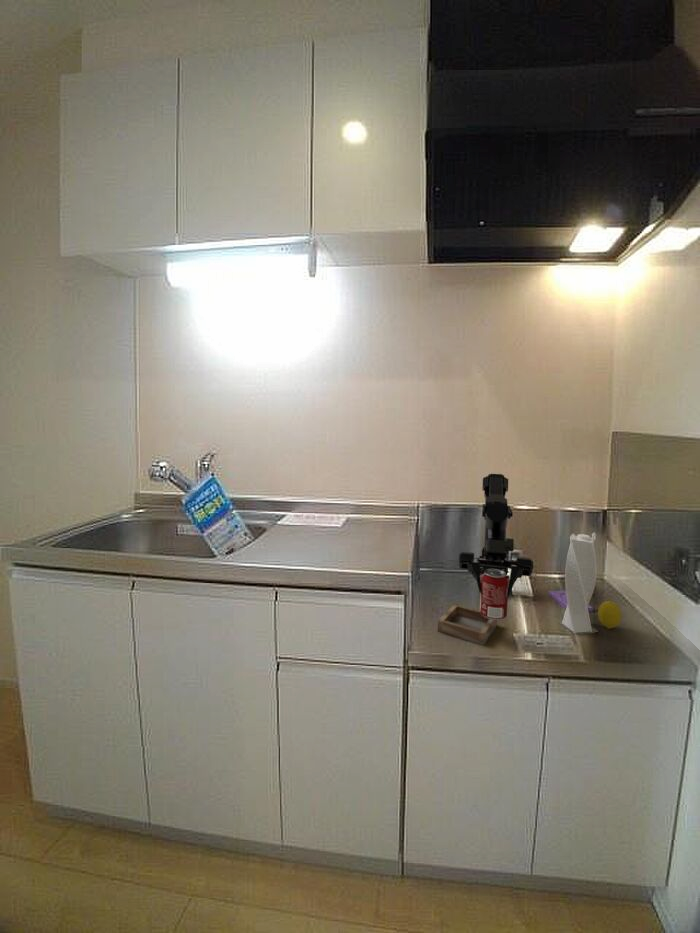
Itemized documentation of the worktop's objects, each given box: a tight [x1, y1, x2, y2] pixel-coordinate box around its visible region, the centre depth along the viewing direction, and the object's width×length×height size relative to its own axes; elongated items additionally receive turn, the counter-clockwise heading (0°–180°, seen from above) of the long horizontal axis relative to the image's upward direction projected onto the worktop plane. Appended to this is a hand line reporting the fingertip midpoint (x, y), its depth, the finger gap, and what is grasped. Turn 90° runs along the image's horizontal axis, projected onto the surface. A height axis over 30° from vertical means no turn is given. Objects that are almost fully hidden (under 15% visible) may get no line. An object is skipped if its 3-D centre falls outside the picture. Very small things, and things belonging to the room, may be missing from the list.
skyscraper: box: [557, 531, 599, 635], centre depth 116 cm, size 8×8×28 cm
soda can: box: [479, 569, 509, 621], centre depth 112 cm, size 7×7×12 cm
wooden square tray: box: [437, 603, 498, 646], centre depth 117 cm, size 12×12×3 cm
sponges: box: [548, 590, 593, 612], centre depth 133 cm, size 7×13×2 cm, turn 4°
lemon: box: [597, 600, 622, 629], centre depth 117 cm, size 6×6×8 cm
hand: (494, 594), depth 111 cm, fingers closed on soda can, 7 cm apart
